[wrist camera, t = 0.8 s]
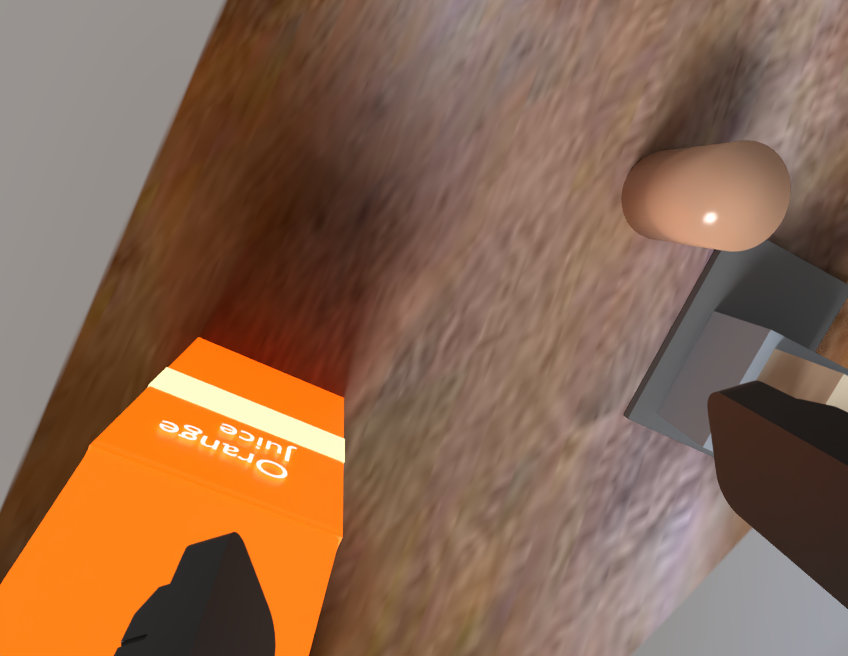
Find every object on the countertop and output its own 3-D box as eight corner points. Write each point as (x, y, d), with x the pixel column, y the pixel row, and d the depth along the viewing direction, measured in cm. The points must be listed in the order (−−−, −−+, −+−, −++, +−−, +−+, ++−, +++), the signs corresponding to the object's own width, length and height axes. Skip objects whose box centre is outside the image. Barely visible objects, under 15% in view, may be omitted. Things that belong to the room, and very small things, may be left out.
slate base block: (713, 310, 36) (770, 329, 31) (803, 357, 37) (871, 381, 33) (655, 413, 37) (702, 447, 32) (745, 454, 38) (803, 492, 34)
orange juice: (198, 334, 33) (-11, 536, 14) (346, 396, 35) (346, 652, 16) (144, 456, 34) (-117, 803, 15) (290, 510, 36) (227, 882, 17)
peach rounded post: (648, 134, 34) (724, 120, 27) (719, 175, 35) (810, 171, 28) (606, 216, 34) (669, 223, 28) (677, 254, 36) (754, 269, 29)
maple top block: (774, 348, 31) (843, 373, 27) (854, 388, 32) (932, 419, 28) (721, 440, 32) (779, 479, 28) (800, 476, 33) (868, 519, 29)
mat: (730, 222, 35) (736, 222, 35) (845, 285, 37) (853, 287, 37) (623, 415, 37) (627, 418, 37) (738, 466, 39) (744, 470, 39)
